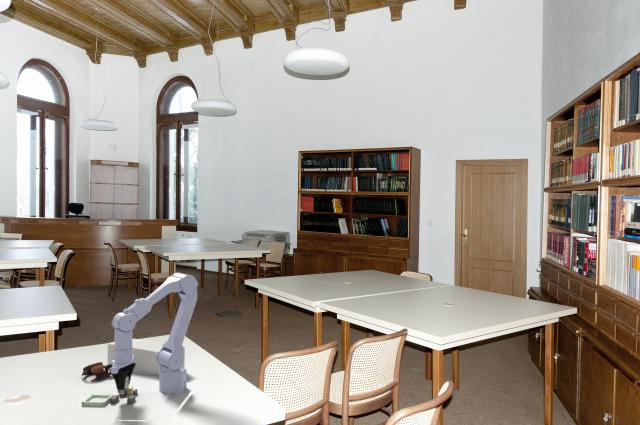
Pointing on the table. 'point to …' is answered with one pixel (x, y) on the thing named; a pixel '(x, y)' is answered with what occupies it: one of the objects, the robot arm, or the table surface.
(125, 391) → the shiny metal cylinder
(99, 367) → the brown piece
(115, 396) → the board
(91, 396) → the tray
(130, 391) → the tan rectangular block
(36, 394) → the table surface
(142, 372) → the long grey box
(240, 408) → the table surface
